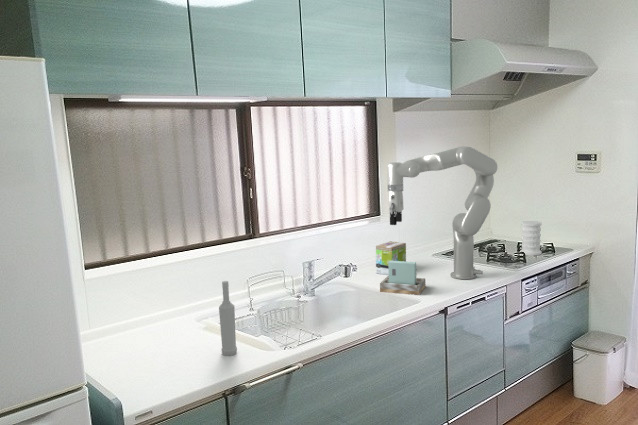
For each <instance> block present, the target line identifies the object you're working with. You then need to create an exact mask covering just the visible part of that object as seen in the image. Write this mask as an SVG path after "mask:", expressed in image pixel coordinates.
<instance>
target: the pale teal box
mask: <svg viewBox="0 0 638 425" xmlns="http://www.w3.org/2000/svg"><path fill="white" fill-rule="evenodd" d="M388 266H389V275H388V276H389V283H396V284H409V285H416V278H417V261H407V260H406V261H389V262H388Z"/></svg>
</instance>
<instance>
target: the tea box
mask: <svg viewBox="0 0 638 425" xmlns="http://www.w3.org/2000/svg"><path fill="white" fill-rule="evenodd" d="M389 261H406V262H407V243H406V242H400V241H398V242H397V241H387V242H385V243H381V244H377V245H376V246H375V273H376V274H379V275H385V276H389V266H388V262H389Z"/></svg>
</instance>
